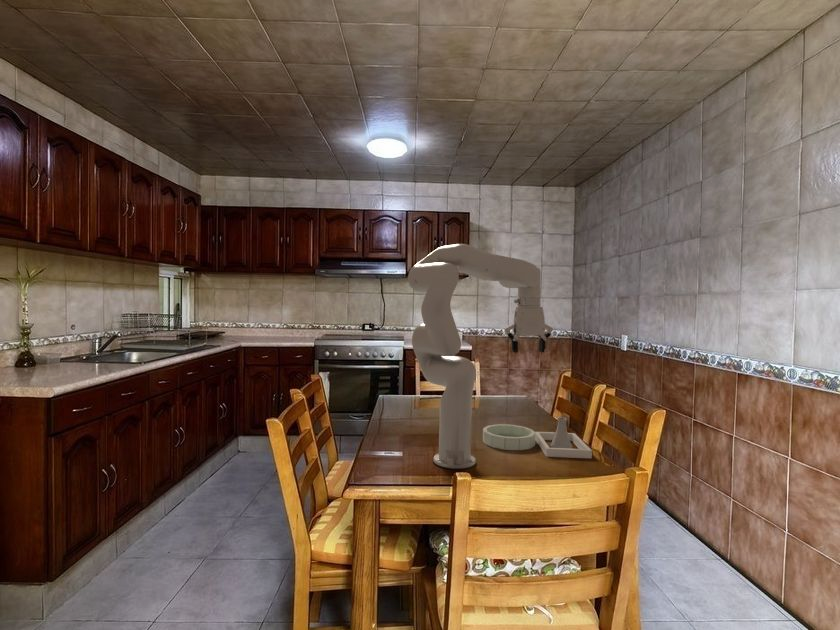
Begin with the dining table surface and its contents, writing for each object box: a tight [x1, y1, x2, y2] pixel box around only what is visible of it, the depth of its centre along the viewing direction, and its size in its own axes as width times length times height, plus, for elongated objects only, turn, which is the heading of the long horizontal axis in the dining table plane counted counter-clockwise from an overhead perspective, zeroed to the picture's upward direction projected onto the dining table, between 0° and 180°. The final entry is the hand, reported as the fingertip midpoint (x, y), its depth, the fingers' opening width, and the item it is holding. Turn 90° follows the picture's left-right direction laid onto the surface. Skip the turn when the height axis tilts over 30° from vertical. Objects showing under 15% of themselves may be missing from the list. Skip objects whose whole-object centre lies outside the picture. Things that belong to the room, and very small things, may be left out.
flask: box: [549, 417, 573, 449], centre depth 156 cm, size 7×7×10 cm
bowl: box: [482, 423, 536, 451], centre depth 161 cm, size 17×17×4 cm
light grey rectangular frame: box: [534, 431, 593, 459], centre depth 156 cm, size 20×14×2 cm
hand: (528, 352), depth 162 cm, fingers open, 9 cm apart
